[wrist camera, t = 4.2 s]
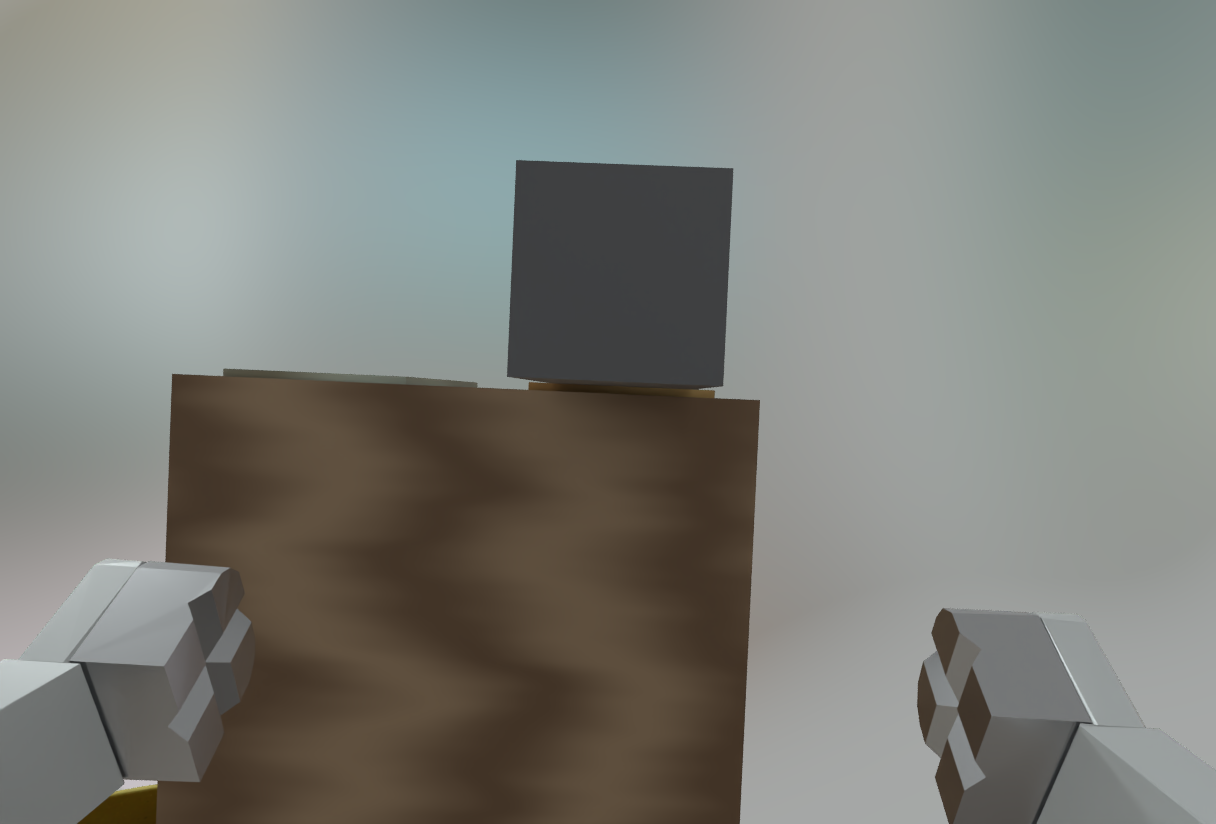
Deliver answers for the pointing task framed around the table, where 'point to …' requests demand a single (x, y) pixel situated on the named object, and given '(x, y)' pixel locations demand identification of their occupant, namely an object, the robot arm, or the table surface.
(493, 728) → the panel block
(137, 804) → the flower pot
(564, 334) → the dark grey square bar
